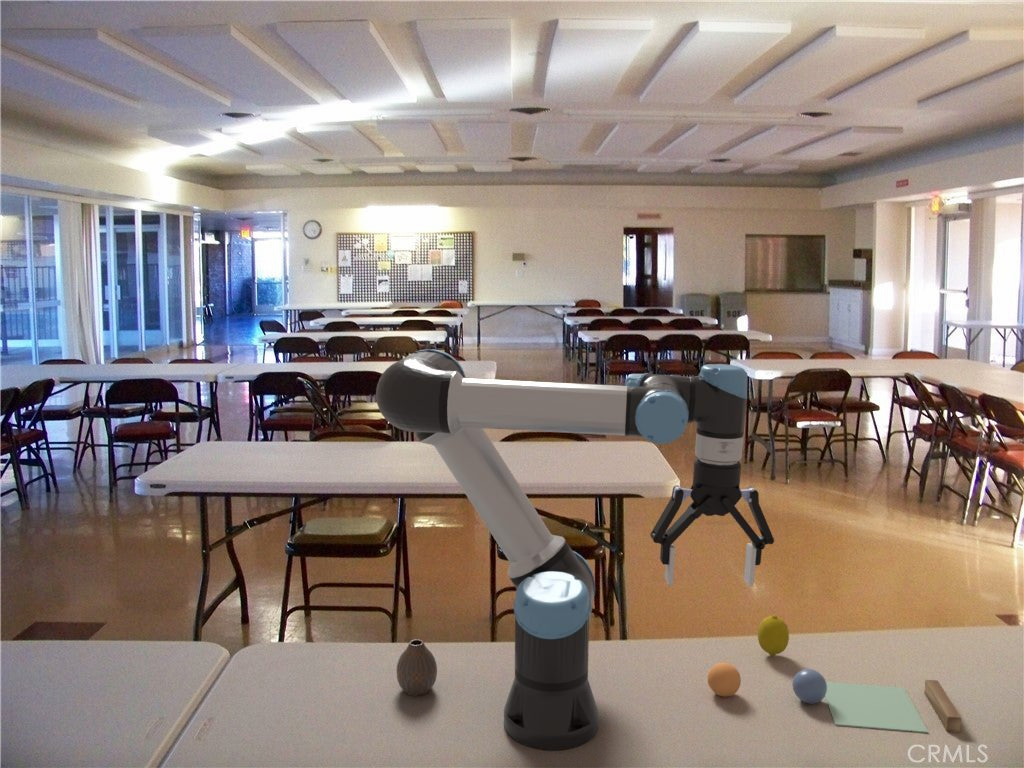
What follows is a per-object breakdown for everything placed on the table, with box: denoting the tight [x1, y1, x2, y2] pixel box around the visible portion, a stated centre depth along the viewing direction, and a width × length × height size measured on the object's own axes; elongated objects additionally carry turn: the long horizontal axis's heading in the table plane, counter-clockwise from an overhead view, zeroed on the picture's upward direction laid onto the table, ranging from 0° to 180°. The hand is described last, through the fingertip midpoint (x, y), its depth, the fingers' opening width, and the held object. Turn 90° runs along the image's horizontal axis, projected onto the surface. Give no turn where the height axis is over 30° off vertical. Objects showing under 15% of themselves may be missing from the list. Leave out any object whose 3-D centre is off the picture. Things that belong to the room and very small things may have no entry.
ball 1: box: [707, 662, 742, 698], centre depth 151 cm, size 6×6×6 cm
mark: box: [824, 681, 929, 734], centre depth 148 cm, size 14×14×1 cm
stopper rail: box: [923, 679, 962, 733], centre depth 146 cm, size 2×12×2 cm, turn 171°
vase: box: [396, 639, 438, 697], centre depth 152 cm, size 7×7×9 cm
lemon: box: [757, 614, 790, 657], centre depth 165 cm, size 6×6×8 cm
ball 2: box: [792, 668, 827, 704], centre depth 149 cm, size 6×6×6 cm
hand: (708, 582), depth 149 cm, fingers open, 13 cm apart
